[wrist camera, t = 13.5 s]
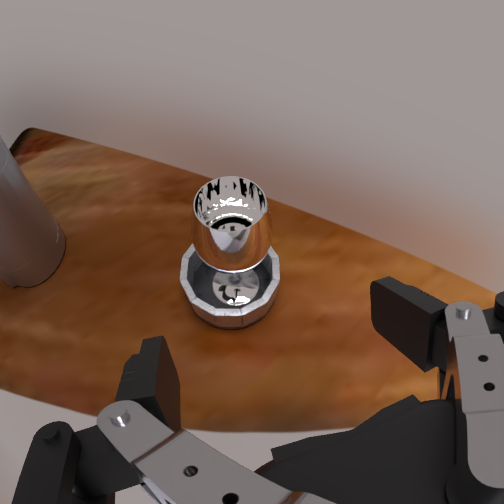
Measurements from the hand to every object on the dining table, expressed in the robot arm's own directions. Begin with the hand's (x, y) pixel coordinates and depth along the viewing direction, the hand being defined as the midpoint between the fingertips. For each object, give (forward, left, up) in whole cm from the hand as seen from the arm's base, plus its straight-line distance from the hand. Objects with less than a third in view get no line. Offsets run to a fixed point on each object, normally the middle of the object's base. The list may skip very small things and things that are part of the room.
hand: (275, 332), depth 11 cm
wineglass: (+3, +10, -17) cm, 19 cm away
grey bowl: (+3, +10, -17) cm, 20 cm away
